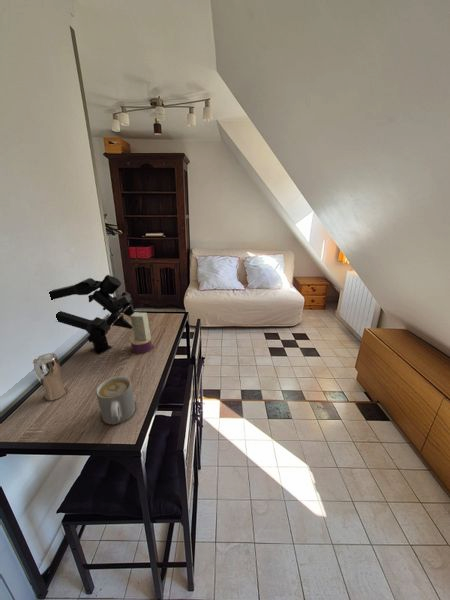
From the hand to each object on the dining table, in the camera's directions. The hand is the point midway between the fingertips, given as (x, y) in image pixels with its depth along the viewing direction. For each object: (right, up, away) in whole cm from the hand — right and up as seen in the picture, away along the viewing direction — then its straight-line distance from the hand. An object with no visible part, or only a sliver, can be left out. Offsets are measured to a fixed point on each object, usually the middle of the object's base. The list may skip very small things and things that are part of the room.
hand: (135, 323), depth 113 cm
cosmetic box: (+2, -7, +3) cm, 8 cm away
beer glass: (-20, -23, -24) cm, 39 cm away
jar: (+2, -12, +4) cm, 13 cm away
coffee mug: (+7, -26, -34) cm, 43 cm away
